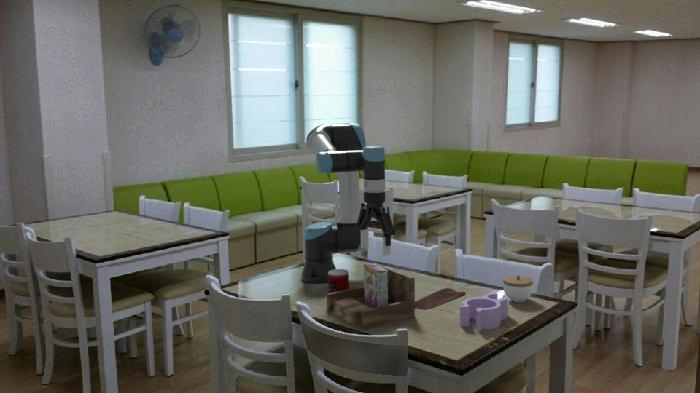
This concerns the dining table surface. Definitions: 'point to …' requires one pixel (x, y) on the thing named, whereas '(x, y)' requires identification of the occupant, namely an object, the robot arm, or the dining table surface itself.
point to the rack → (397, 308)
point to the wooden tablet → (437, 299)
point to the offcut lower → (347, 317)
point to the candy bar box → (375, 285)
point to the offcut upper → (350, 307)
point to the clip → (484, 311)
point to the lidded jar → (518, 288)
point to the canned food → (338, 280)
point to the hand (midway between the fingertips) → (375, 251)
